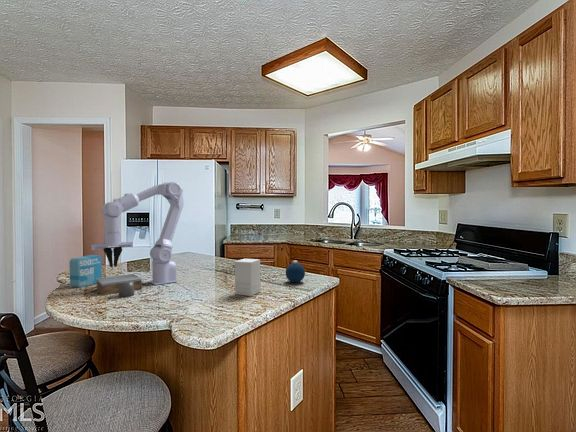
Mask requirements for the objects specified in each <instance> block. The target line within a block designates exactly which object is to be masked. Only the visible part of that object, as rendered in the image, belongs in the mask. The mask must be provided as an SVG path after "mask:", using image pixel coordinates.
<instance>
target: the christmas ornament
mask: <svg viewBox="0 0 576 432" xmlns="http://www.w3.org/2000/svg"><path fill="white" fill-rule="evenodd" d="M305 276H306V270H305V268H304V266H303V265H302V264H300V263H299V262H298V260H292V263H291V264H289V265H287V267H286V269H285V277H286V279H287V280H288V281H289V282H291V283H293V282H294V283H297V284H298V283H299V282H302V281H303V279H304V278H305Z"/></svg>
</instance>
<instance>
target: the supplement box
mask: <svg viewBox="0 0 576 432" xmlns="http://www.w3.org/2000/svg"><path fill="white" fill-rule="evenodd" d="M261 289H262V288H261V259H260V258H259V259H257V258H256V259H255V258H243V259H242V258H241V259H239V260H235V261H234V290H235V291H234V293H235V295H240V296H248V297H252V296H254V294H255V295H257V294H259V293H261V292H260V291H262V290H261ZM258 292H259V293H258ZM256 293H257V294H256Z"/></svg>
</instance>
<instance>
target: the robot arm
mask: <svg viewBox="0 0 576 432" xmlns="http://www.w3.org/2000/svg"><path fill="white" fill-rule="evenodd" d="M183 192H184V189H183V188H182V186H181V184H180V183H179V182H177V181H170V182H163V183H159V184H156V185H153V186H151V187H149V188H147V189H144V190H143V191H140V192H139V193H137V194H134V193H129V192H127V193H124V195H123V196H121V197H119V198H114V199H112V201H109V202H106V203H104V205H103V206H102V207H101V213H102V214H103V228H104V229H103V231H104V234H103V236H104V237H103V238H104V243H96V244H91V249H90V250H91V251H95V250H103V253H104V254H105V256H106V258H107V261H108V264H109V268H113V267H114V268H115V267H117V266H118V261H119V259H120V256H121V254H122V252H123V248H133V247H134V242H133V241H123V242H122V241H121V238H122V237H121V236H122V235H121V214H122V213H125V212H128V211H129V210H132V209H134V208H136V207H138V206H139V204H140V202H142V201H145V200H146V199H149V198H151V197H153V196H156V195H157V196H162V197H164V198H165V199H166V200H167V202H168V203H169V205H170V206H169V208H168V212H167V215H166V217H165V220H164V223H163V227H162V229H161V232H160V235H159V238H158V239H157V241H156V242H155V243H154V246H153V247H151V248H150V251H149V256H150V258H151V259H152V262H151V267H152V270H151V271H152V274H151V275H152V280H149V283H150V284H153V285H154V286H157V285H165V284H171V283H176V282H178V281H177V265H176V262H175V261H174V260H171V259H172V257H173V252H172V250H173V243H172V241H173V238H174V235H175V233H176V232H175V231H176V229H177V227H178V223H179V221H180V218H181V215H182V211H183V208H184V205H185V202H184V196H183Z"/></svg>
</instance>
